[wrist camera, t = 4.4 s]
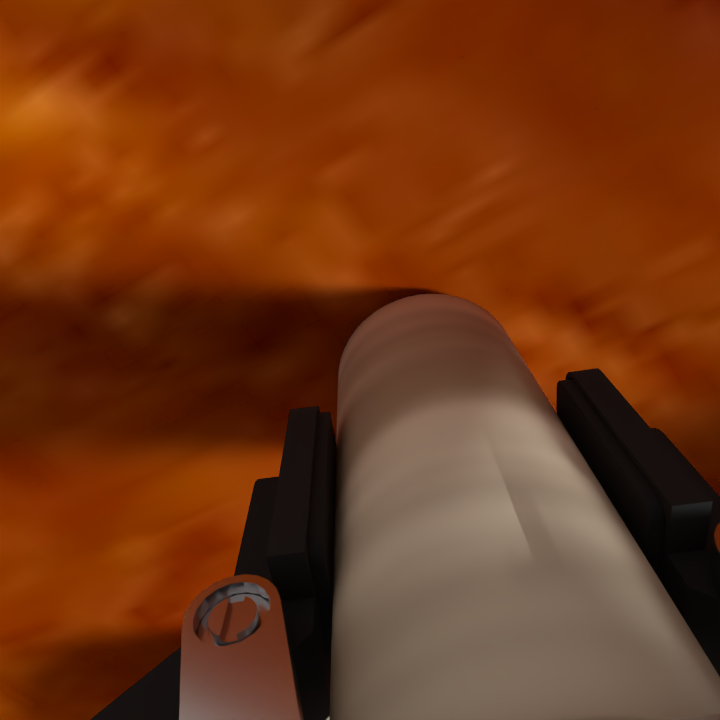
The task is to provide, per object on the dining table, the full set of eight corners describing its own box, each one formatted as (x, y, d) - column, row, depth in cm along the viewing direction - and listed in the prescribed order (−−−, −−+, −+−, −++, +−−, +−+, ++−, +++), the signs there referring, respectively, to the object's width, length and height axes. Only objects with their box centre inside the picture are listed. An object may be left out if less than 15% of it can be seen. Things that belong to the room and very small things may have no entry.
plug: (324, 307, 14) (283, 747, 5) (513, 281, 14) (841, 687, 5) (352, 462, 16) (360, 983, 7) (518, 440, 16) (757, 948, 7)
